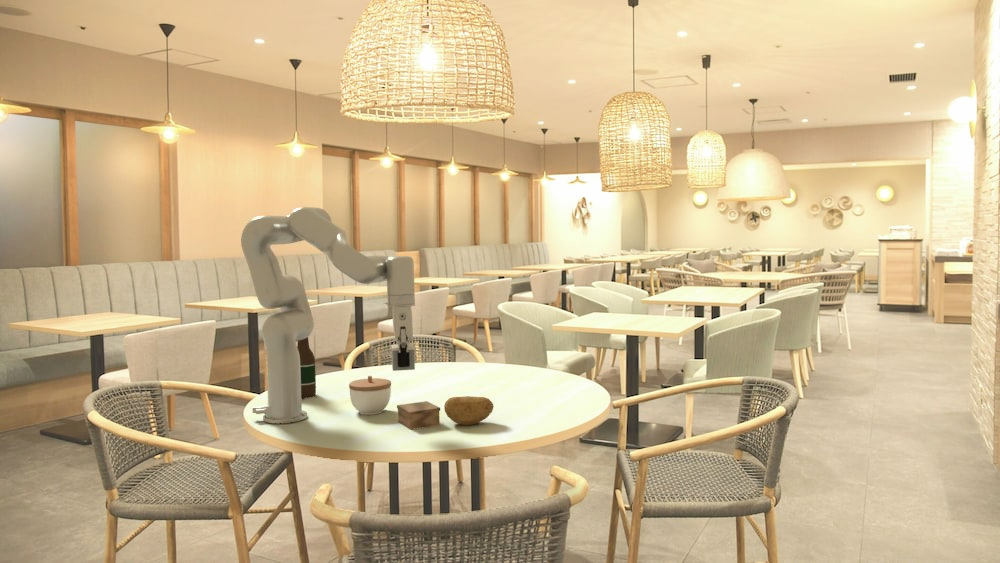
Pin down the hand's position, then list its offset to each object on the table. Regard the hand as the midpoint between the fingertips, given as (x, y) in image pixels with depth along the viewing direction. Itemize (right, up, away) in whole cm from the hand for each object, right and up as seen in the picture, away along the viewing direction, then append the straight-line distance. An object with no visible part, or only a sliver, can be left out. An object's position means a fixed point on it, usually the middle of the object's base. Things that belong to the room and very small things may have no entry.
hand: (403, 364), depth 205 cm
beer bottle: (-38, -16, +41) cm, 58 cm away
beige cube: (0, -1, 0) cm, 1 cm away
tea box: (+4, -18, +5) cm, 19 cm away
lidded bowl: (-12, -17, +19) cm, 28 cm away
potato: (+18, -18, +4) cm, 26 cm away
